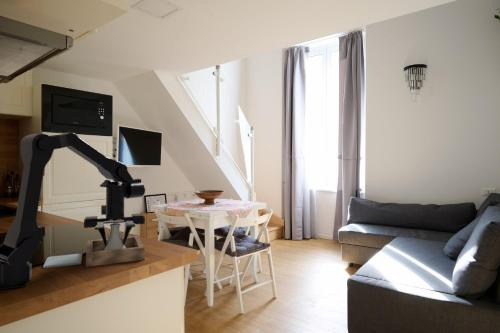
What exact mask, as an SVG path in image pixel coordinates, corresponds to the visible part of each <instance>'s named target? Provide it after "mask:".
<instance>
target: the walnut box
mask: <svg viewBox="0 0 500 333" xmlns="http://www.w3.org/2000/svg"><path fill="white" fill-rule="evenodd" d="M123 237H124V236H121V238H122V240H123ZM108 239H109V238H106V241H107V242H108ZM104 249H105V244H104V241H103V239H102V238H99V239H90V240H89V239H88V240H87V244H86V249H85V250H86V251H85V252H86V253H85V267H87V268H88V267H96V266H104V265H113V264H119V263H120V264H121V263H129V262H135V261H136V262H137V261H143V260H145V245H144V244H143V242H142V240H141V238H140V236H139V235H136V236H135V235H134V236H128V237H127V239H126V242H125V248H124V249H114V250H104Z"/></svg>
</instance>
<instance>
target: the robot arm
mask: <svg viewBox="0 0 500 333" xmlns="http://www.w3.org/2000/svg"><path fill="white" fill-rule="evenodd" d="M19 146H20V157H21V161H22V163H23V170H22V177H21V182H20V187H19V188H20V189H19V193H18V200H17V207H16V213H15V218H14V219H13V221H12V223H11V224H10V225H9V227H8V230H7V232H6V235H5V238H4V240H3V243H1V245H0V291H1V290H8V289H15V288H23V287H26V286H27V285H28V284H29V282H30V281H31V279H32V275H33V274H32V269H33V267H32V265H33V264H32V263H31V261H32V259H33V257H34V255H35V252H36V251H37V250H38V249H39V247H40V245H41V243H43V240H44V239H43V234H44V231H45V226H41V225H39V224H38V221H37V217H38V212H39V207H40V206H39V205H40V198H41V193H42V192H41V191H42V186H43V179H44V174H45V173H44V172H45V168H46V166H47V165H48V164H49V161H50V160H51V159H52V156H53V154H54V151H55V150H59V149H64V148H67V149H68V150H70V151H71V152H73V153H74V154H76V155H78V156H79V157H81V158H82V159H83V160H85V161H87V162H88V163H90V164H91V165H93V166H94V167H95V168H96V169H97V170H98V172H99V173H100V174H101V175H102V176H103V177H104V178H105V180H104V181H103V182H101V184H99V187H100V188H105V205H104V204H103V205H101V206H100V215H101V216H105V217H104V218H103V217H102V218H98V215H93V216H85V217H84V220H83V228H84V229H91V228H94V230H95V231H96V230H97V231H98V233H99V234H100V236H101V239H103V241H104V244H105V247H106V246H107V241H106V239H107V236H106V235H107V234H106V228H105V225H107V224H113V223H119V224H121V223H124V230H123V236H122V237H123V245H125V242H126V239H127V237H129V234H130V232H131V231H132V229H133V228H136V225H144V224H146V222H145V221H146V217H145V215H144V214H142V213H132V214H131V216H125V199H126V200H127V199H134V198H136V199H137V198H141V197H143V196H145V193H146V187H145V186H144V185H145V184H144V183H143V182H142V178H133V177H132V175H131V174H130V172H129V171H128V166H127V165H126V164H124V163H123V162H121V161H119V160H116V159H114V158H110V157H107V156H106V155H104V153H102V152H100V151H99V150H98V149H96V148H95V147H93V146H92V145H90V144H89V143H87V142H86V141H85V140H84V139H82V138H81V137H79V136H78V134H76V133H74V132H63V133H61V134H54V135H52V134H51V135H49V134H45V133H35V134H34V133H33V134H28V135H26V136H24V137H22V138H21V140H20V144H19ZM111 180H112V181H111Z"/></svg>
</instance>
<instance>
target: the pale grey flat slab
mask: <svg viewBox="0 0 500 333" xmlns="http://www.w3.org/2000/svg"><path fill="white" fill-rule="evenodd" d="M82 260H83V252H82V253H74V254H62V255H53V256H48V257H47V258H46V260H45V262H44V264H43V266H42V268H43V269H48V268H58V267H66V266H77V265H82Z"/></svg>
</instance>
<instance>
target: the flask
mask: <svg viewBox="0 0 500 333" xmlns="http://www.w3.org/2000/svg"><path fill="white" fill-rule="evenodd" d="M109 227H110V232H109V235H108V236H109V237H108V238H107V239H108V242H107V246H106V247H105V249H104V250H114V249H124V248H125V245H123V240H122V235H121V232H120V231H121V230H120V227H121V223H109Z"/></svg>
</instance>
